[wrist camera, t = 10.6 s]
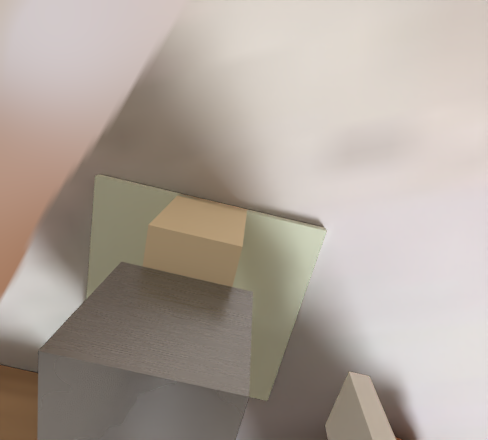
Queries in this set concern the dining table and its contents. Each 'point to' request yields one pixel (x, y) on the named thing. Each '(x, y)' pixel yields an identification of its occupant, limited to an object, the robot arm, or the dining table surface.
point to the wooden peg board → (18, 404)
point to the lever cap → (148, 361)
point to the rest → (210, 256)
